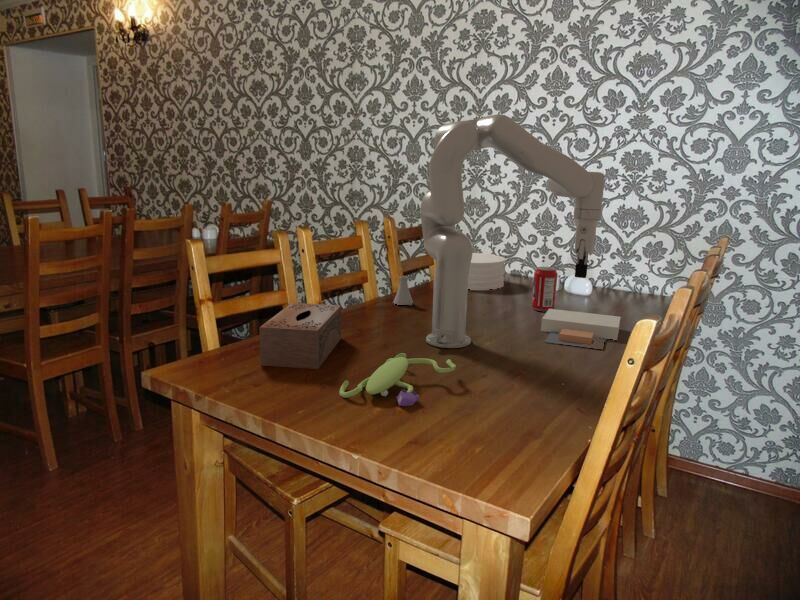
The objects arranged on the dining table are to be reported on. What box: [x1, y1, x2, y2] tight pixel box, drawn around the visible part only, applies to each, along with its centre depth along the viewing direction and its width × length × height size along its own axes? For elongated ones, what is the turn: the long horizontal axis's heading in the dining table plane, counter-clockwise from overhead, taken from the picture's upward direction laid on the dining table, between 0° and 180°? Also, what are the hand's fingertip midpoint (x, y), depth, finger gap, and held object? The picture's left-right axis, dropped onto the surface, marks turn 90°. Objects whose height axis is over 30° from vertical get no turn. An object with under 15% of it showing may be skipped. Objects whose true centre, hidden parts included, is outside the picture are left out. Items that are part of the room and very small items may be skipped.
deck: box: [540, 308, 622, 341], centre depth 177 cm, size 14×22×4 cm, turn 67°
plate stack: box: [468, 252, 506, 291], centre depth 244 cm, size 28×28×12 cm
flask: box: [392, 275, 414, 306], centre depth 204 cm, size 7×7×10 cm
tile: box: [559, 329, 594, 345], centre depth 166 cm, size 6×9×2 cm, turn 67°
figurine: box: [338, 352, 457, 407], centre depth 128 cm, size 18×27×6 cm
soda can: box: [531, 266, 558, 313], centre depth 200 cm, size 8×8×15 cm
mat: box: [544, 332, 607, 348], centre depth 166 cm, size 12×16×1 cm
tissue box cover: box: [259, 302, 342, 370], centre depth 150 cm, size 26×14×10 cm, turn 173°
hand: (580, 277), depth 170 cm, fingers closed
